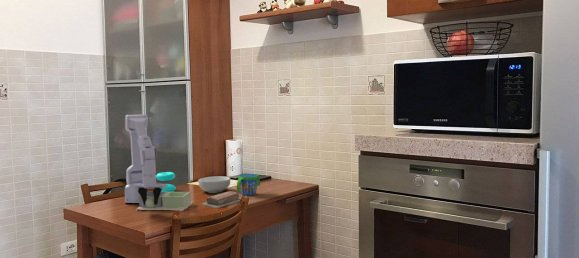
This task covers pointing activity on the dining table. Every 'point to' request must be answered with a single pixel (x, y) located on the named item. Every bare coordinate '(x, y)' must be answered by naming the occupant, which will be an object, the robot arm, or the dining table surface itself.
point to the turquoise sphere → (165, 177)
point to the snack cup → (248, 184)
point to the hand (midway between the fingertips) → (150, 204)
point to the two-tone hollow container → (168, 201)
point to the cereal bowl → (214, 184)
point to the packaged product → (222, 199)
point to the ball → (150, 202)
